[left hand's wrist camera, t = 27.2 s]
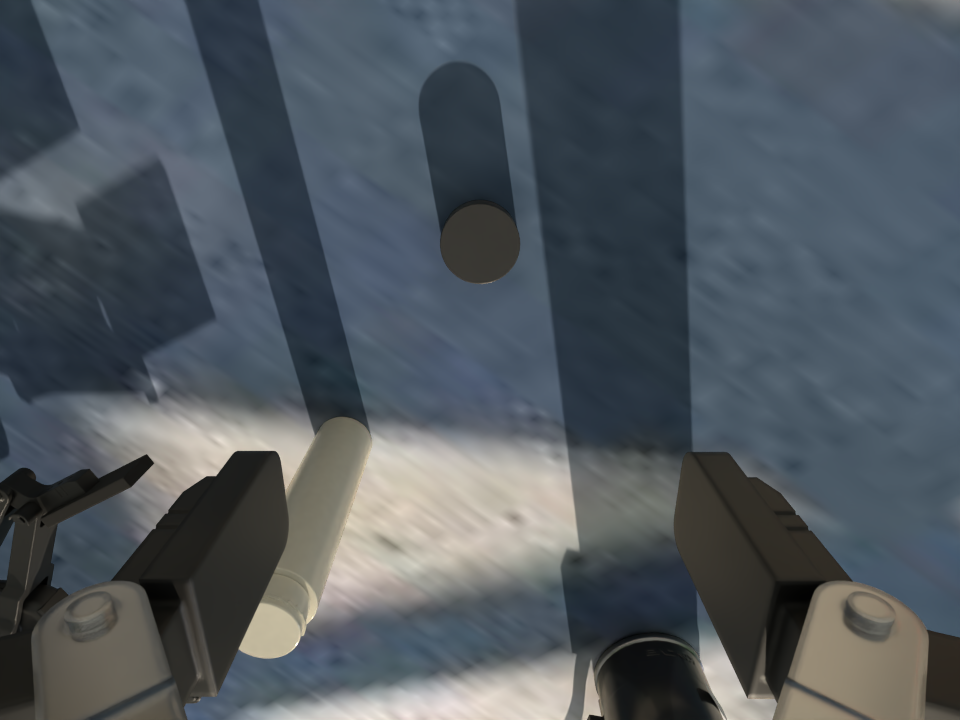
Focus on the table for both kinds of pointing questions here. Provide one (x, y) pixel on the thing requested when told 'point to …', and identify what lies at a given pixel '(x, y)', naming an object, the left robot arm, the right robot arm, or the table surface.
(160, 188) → the table surface
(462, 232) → the lid
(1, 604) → the right robot arm
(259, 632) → the beige cylinder
